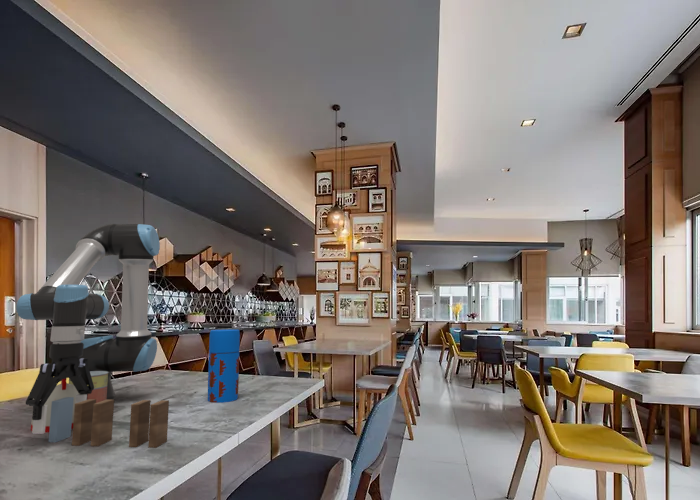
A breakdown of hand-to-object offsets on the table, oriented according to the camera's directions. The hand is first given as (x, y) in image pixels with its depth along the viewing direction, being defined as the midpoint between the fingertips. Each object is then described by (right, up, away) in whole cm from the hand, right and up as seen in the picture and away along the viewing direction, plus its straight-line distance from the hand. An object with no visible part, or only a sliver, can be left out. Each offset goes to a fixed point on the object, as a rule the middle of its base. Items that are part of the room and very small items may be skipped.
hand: (60, 425), depth 109 cm
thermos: (+29, -9, +45) cm, 54 cm away
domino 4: (+23, -3, -4) cm, 23 cm away
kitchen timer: (-9, -5, +13) cm, 16 cm away
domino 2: (+8, -3, -3) cm, 9 cm away
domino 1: (0, -3, 0) cm, 3 cm away
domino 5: (+28, -3, -5) cm, 28 cm away
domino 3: (+13, -3, -3) cm, 13 cm away
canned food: (-12, -8, +30) cm, 33 cm away
